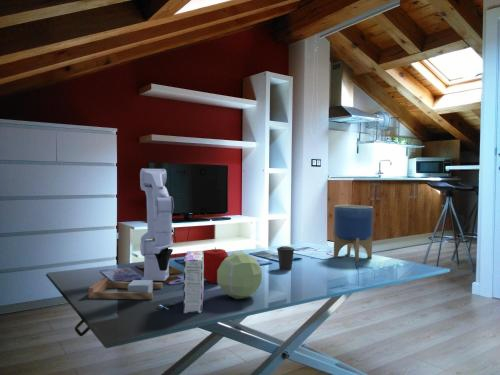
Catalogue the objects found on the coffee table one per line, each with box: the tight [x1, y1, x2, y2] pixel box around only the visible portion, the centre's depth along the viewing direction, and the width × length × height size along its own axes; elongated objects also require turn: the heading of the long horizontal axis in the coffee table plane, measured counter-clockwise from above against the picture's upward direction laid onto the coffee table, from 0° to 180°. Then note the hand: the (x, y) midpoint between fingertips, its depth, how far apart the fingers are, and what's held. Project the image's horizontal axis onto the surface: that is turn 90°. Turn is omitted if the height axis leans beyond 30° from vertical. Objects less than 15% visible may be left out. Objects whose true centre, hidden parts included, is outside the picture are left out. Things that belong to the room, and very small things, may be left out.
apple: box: [203, 247, 229, 284], centre depth 156 cm, size 11×10×14 cm
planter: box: [333, 204, 374, 263], centre depth 205 cm, size 19×19×26 cm
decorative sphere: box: [217, 252, 263, 300], centre depth 137 cm, size 15×15×15 cm
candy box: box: [183, 250, 205, 314], centre depth 127 cm, size 14×6×16 cm, turn 5°
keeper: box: [127, 279, 154, 293], centre depth 140 cm, size 7×7×4 cm
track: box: [88, 277, 163, 300], centre depth 140 cm, size 22×13×4 cm, turn 88°
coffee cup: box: [276, 245, 295, 271], centre depth 178 cm, size 8×8×10 cm
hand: (163, 270), depth 140 cm, fingers closed
